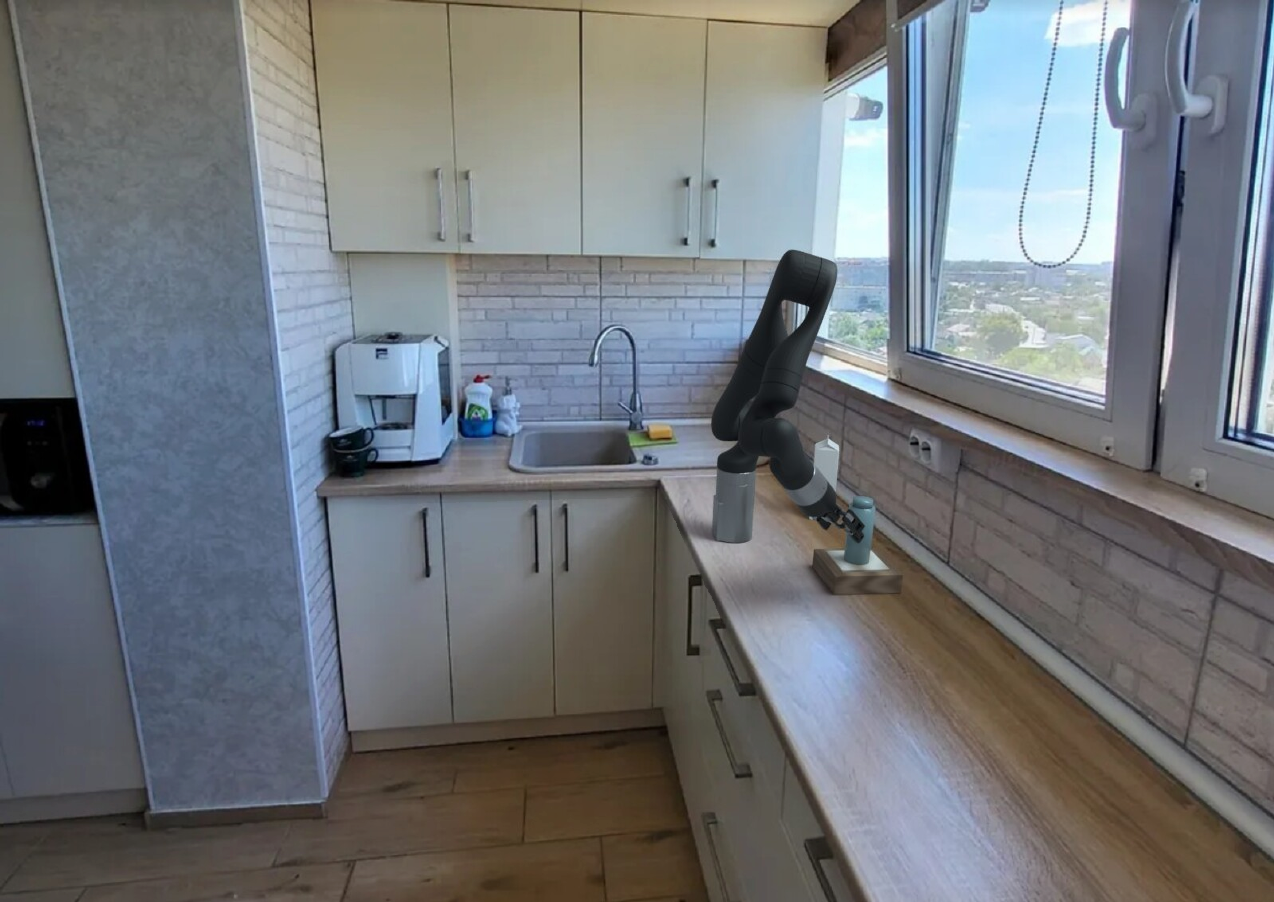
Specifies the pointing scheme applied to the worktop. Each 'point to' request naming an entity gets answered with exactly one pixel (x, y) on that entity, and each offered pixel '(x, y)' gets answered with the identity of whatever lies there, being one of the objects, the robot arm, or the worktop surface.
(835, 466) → the milk
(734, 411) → the robot arm
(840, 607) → the worktop surface
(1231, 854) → the worktop surface
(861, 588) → the plinth
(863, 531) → the blue capped bottle
